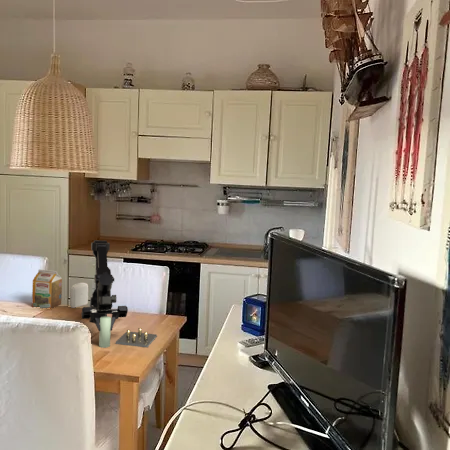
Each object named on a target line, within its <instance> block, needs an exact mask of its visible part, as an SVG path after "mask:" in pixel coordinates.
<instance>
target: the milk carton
mask: <svg viewBox="0 0 450 450" xmlns="http://www.w3.org/2000/svg"><path fill="white" fill-rule="evenodd" d="M62 287H63V277H61V275H60V274H58V271H57V270H49V269H48V270H47V269H38V272H37V273H36V274H35V276H34V278H33V279H32V292H31V293H32V294H31V301H32V302H31V307H32V308H34V307H40V308H39V309H43V308H50V309H49V310H52V309H51V308H53V309H54V307H55V308H56V307H59V306H61V305H62V298H63V297H62V295H63V294H62V293H63V292H62V291H63V288H62Z"/></svg>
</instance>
